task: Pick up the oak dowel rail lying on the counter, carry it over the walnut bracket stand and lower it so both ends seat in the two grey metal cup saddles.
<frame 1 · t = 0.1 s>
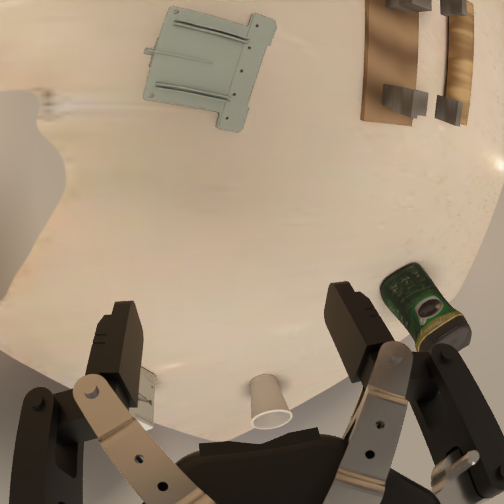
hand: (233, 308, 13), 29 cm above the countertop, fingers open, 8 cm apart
coffee jar: (400, 281, 56), on the countertop
rail: (452, 58, 34), on the countertop
metal bracket: (205, 62, 32), on the countertop
supplement box: (131, 371, 58), on the countertop
bracket stand: (390, 47, 33), on the countertop
dixie cup: (263, 381, 65), on the countertop
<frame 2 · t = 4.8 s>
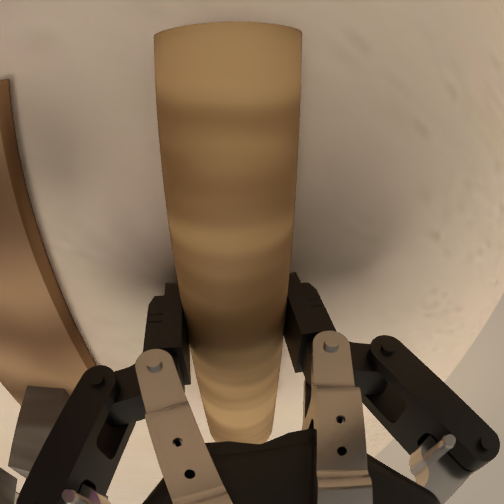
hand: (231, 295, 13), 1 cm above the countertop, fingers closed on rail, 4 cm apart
rail: (226, 282, 14), on the countertop, touching gripper
supplement box: (9, 489, 39), on the countertop
bracket stand: (9, 311, 13), on the countertop
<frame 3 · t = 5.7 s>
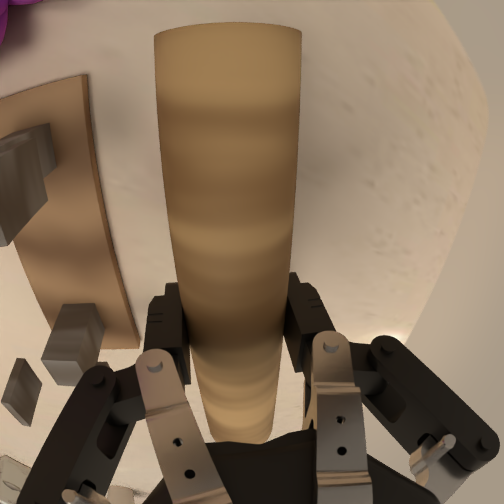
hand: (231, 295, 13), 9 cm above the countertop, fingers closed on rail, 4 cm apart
rail: (225, 282, 14), point 8 cm above the countertop, tilted 5°, touching gripper
supplement box: (14, 462, 46), on the countertop
bracket stand: (61, 237, 20), on the countertop
dixie cup: (121, 488, 53), on the countertop
when the fingers open (8 cm above the countertop, at t = 9.0 s): rail stays where it is, resting on bracket stand.
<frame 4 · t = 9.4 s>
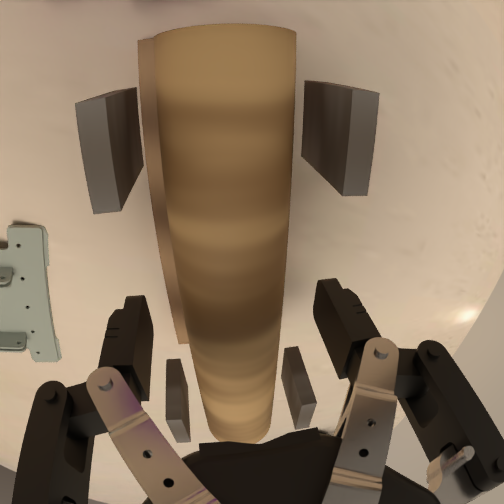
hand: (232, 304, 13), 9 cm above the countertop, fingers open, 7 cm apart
rail: (224, 277, 14), point 7 cm above the countertop, touching bracket stand
bracket stand: (218, 211, 20), on the countertop
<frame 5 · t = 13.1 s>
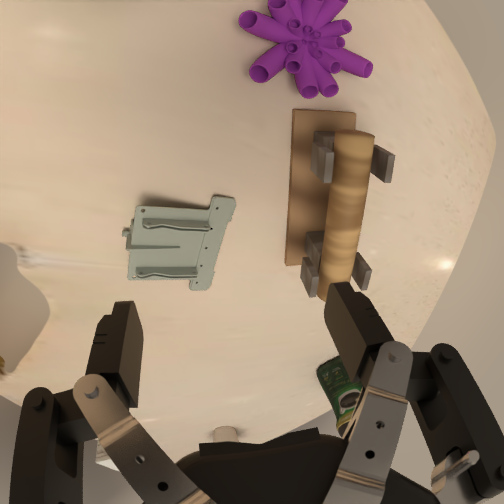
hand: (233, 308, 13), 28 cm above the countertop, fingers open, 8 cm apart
coffee jar: (337, 365, 65), on the countertop
rail: (336, 214, 36), point 7 cm above the countertop, touching bracket stand
metal bracket: (175, 236, 43), on the countertop
supplement box: (118, 422, 67), on the countertop
purple tube coral: (292, 38, 31), on the countertop
bracket stand: (317, 191, 42), on the countertop
dixie cup: (224, 430, 75), on the countertop
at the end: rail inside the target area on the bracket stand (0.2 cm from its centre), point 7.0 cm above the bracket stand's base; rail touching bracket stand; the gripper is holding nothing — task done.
